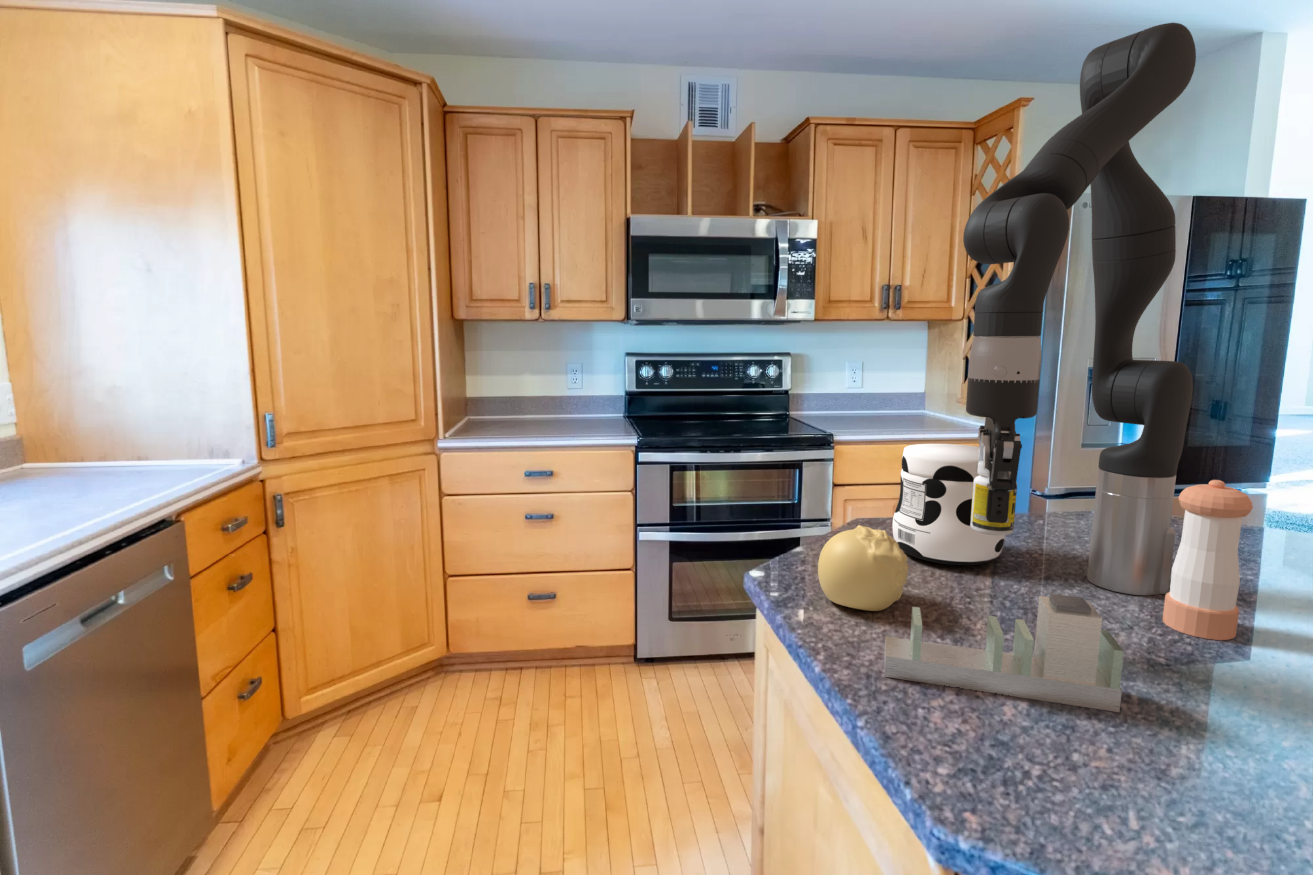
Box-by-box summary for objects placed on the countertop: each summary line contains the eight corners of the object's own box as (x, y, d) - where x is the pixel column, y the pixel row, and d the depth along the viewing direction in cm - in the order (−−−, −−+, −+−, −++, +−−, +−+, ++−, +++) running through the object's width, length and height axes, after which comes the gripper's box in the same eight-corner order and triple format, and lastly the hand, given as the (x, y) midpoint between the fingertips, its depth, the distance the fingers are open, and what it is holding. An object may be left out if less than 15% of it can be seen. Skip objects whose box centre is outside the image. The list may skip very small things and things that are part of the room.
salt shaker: (1218, 645, 80) (1239, 489, 77) (1150, 622, 86) (1167, 477, 83) (1247, 632, 83) (1268, 483, 80) (1180, 611, 89) (1197, 472, 86)
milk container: (1007, 550, 114) (1016, 448, 112) (996, 581, 100) (1006, 465, 97) (903, 534, 124) (908, 439, 121) (879, 561, 109) (885, 453, 106)
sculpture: (914, 623, 86) (919, 543, 84) (819, 616, 88) (822, 538, 86) (898, 589, 97) (902, 518, 95) (814, 584, 99) (817, 514, 97)
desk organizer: (1103, 687, 70) (1113, 597, 69) (1119, 712, 65) (1130, 616, 64) (884, 655, 77) (888, 573, 76) (884, 676, 72) (889, 589, 71)
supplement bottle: (1018, 537, 78) (1024, 467, 77) (975, 535, 79) (980, 466, 78) (1006, 525, 83) (1011, 459, 81) (965, 524, 83) (970, 458, 82)
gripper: (1054, 380, 70) (1040, 535, 73) (1026, 372, 83) (1015, 503, 86) (976, 379, 72) (965, 529, 75) (961, 371, 86) (953, 499, 88)
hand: (992, 515), depth 80 cm, fingers closed on supplement bottle, 4 cm apart
